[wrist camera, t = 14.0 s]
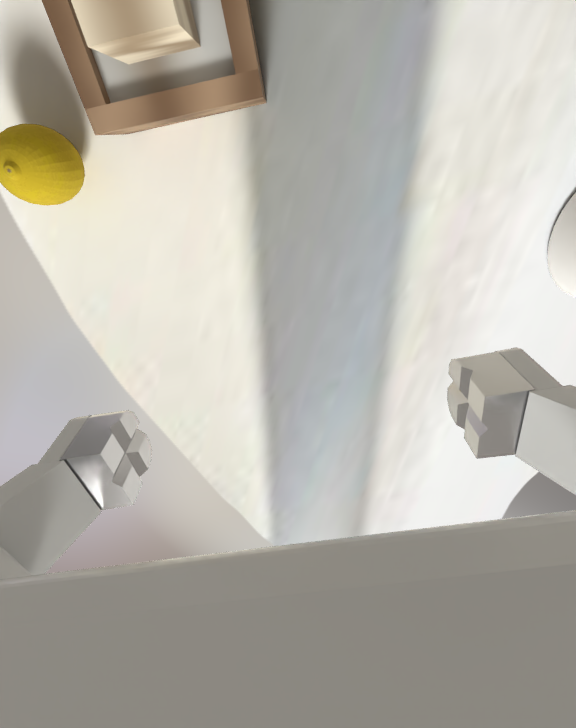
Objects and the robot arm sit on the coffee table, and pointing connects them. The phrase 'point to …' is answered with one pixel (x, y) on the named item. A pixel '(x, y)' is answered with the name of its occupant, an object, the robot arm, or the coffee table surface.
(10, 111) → the coffee table surface
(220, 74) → the walnut frame
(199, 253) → the coffee table surface
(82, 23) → the ash block
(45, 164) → the lemon
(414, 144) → the coffee table surface
